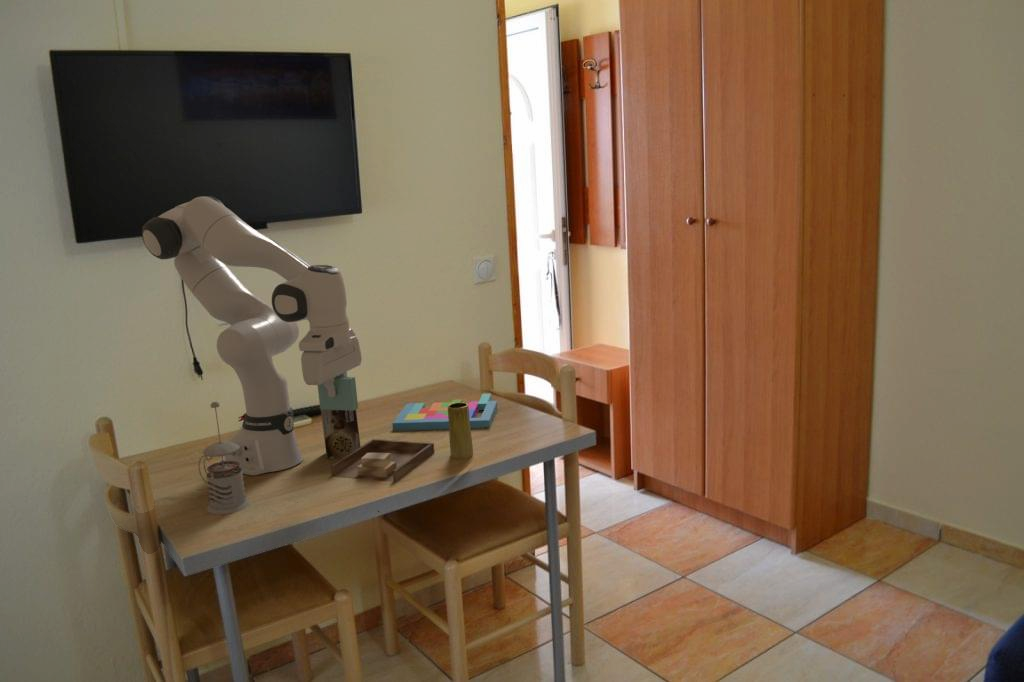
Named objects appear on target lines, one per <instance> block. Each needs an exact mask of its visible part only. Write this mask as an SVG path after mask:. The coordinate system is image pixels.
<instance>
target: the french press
mask: <svg viewBox="0 0 1024 682" xmlns="http://www.w3.org/2000/svg"><path fill="white" fill-rule="evenodd" d="M210 408H212V409H214V411H215V419H216V424H217V425H216V426H217V434H218V441H219V442H214V443H212V444H210V445H208V446H207V447H205V448H204V449H203V450H202V454H203V455H202V456H201V457H200V458H199V460H198V466H197V467H198V471H199V475H200V477H201V479H202V481H203V482H204V483H205V484H207V489H208V495H209V501H210V503H209V505H208V506H207V508H206V511H207V513H209V512H210V513H209V514H212V513H213V514H212V515H227V514H233V513H237V512H239V511H240V512H241V511H242V510H244V509H246V508H248V507H249V506H251V502H252V501H251V500H250V499H249V498H248V497H246V491H245V490H246V488H245V481H244V474H243V473H242V469H241V468H240V467H239V465H240V463H239V462H237V461H225V462H223V457H225V456H226V455H230V454H233V453H235V452H237V451H238V450H239V447H240V446H239V445H237V444H235V443H233V442H227V440H226V441H221V434H220V429H219V428H220V427H219V420H218V413H217V412H218V411H217V408H220V403H219V402H218V401H212V402H211V404H210ZM208 457H210V458H208ZM213 457H214V458H215V457H216V458H218V457H221V459H222V462H218V461H217V462H218V463H217V462H215V463H212V464H210V465H208V467H207V468H206V464H205V462H206V461H210V460H212V459H213ZM202 459H203V470H204V472H205V474H206V480H207V481H206V480H205V479H204V478H203V475H202V473H201V469H200V468H201V467H200V465H201V461H202ZM232 470H233V471H232ZM207 471H208V472H207ZM234 471H237V472H234ZM229 472H232V473H229ZM226 473H228V474H226ZM212 474H213V475H212ZM225 474H226V475H225ZM212 476H213V478H212ZM213 485H214V486H213ZM214 490H215V491H214Z"/></svg>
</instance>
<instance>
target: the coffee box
mask: <svg viewBox="0 0 1024 682" xmlns="http://www.w3.org/2000/svg"><path fill="white" fill-rule="evenodd" d="M320 414H321V422H322V430H323V438H324V445H325V446H324V447H325V456H326V460H333V459H342V458H344V457H345V456H347V455H349V454H350V453H352V452H353V451H355V450H356V449H358V448H360V447H361V446H362V445H361V439H360V438H361V437H360V432H359V431H360V429H359V423H358V414H357V409H356V410H354V411H350V410H326V409H320Z"/></svg>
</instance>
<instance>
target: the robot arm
mask: <svg viewBox="0 0 1024 682" xmlns="http://www.w3.org/2000/svg"><path fill="white" fill-rule="evenodd" d="M141 238H142V240H143V244H144V246H145V248H146V249H147V250H148V252H149V253H150V254H151V255H152V256H154V257H155V258H157V259H160V260H169V259H170V260H171V259H173V258H174V260H173V261H174V262H173V264H174V267H175V270H176V271H177V273H178V275H179V277H180V279H181V280H182V281H183V283H184V284H185V286H186V287H187V288H188V290H189V291H190V292H191V294H192V295H193V296H194V298H196V300H198V302H199V303H200V304H201V306H203V308H204V309H205V310H206V312H207V313H208V314H209V315H210V316H211V317H212V318H214V319H216V320H218V321H221V322H225V323H226V324H228V325H229V326H228V327H227V328H225V329H224V330H223V331H221V332H220V334H219V335H218V336H217V339H216V350H217V353H218V355H219V357H220V359H221V360H222V361H223V362H224V363H225V364H227V365H229V367H231V369H233V370H234V372H235V373H236V375H237V377H238V379H239V383H240V385H241V388H242V392H243V394H242V395H243V399H244V400H243V401H244V405H245V407H244V408H245V411H246V412H245V413H244V414H243V415H240V416H238V418H237V419H239V420H238V422H241V421H242V424H241V425H242V427H241V428H240V429H239V430H237V431H236V432H235V433H234V434H233V435H232V436H231V437H230V438H229V439H228V440H226V442H233V443H235V444H237V445H239V446H240V447H239V450H238V451H237V452H235V453H233V454H230V455H226V456H223V462H225V461H237V462H239V463H240V465H239V467H240V468H241V469H242V473H243V475H249V476H258V475H262V474H265V473H271V472H272V473H273V472H277V471H279V472H280V471H282V470H287V469H289V468H292V467H295V466H297V465H299V464H301V462H302V461H303V459H304V457H303V455H302V453H301V449H300V448H299V444H298V441H297V437H296V433H295V429H294V425H295V424H294V423H295V419H294V413H293V408H292V407H291V401H290V395H289V387H288V381H287V379H286V378H285V376H283V375H282V374H280V373H278V371H277V369H276V367H275V364H274V363H273V357H275V356H276V355H279V354H282V353H284V352H286V351H287V350H288V349H289V348H291V347H292V346H293V345H294V344H295V343H296V342H297V341H298V338H299V333H300V330H299V326H298V322H301V321H304V320H305V321H306V320H307V321H308V323H309V330H308V331H307V333H306V334H305V336H304V337H303V338H302V339H301V340H300V341H299V342H298V348H299V351H300V352H302V354H301V358H300V363H301V373H302V377H303V381H304V382H305V384H306V385H307V386H318V385H320V384H322V383H323V384H324V385H325V387H326V388H327V391H328V396H329V397H334V396H336V395H337V394H338V392H337V391H338V390H337V388H335V386H334V384H333V382H334V378H335V377H348V372H349V371H351V370H352V369H355V368H357V367H359V366H360V365H361V364H362V353H361V347H360V346H361V345H360V342H359V339H358V337H356V333H355V331H354V330H353V329H351V328H350V322H349V317H348V314H347V310H346V309H347V293H346V287H345V281H344V277H343V276H342V273H341V271H340V270H339V269H338V268H337V267H336V266H332V265H328V264H315V265H310V264H309V263H307V262H306V261H305V260H303V259H302V258H301V257H300V256H297V255H296V254H294V253H293V252H292V251H291V250H290V249H288V248H286V247H285V246H284V245H282V244H280V243H279V242H277V241H275V240H273V239H272V238H270V237H268V236H266V235H264V234H263V233H262V232H259V231H257V230H256V229H254V228H253V226H250V225H249V224H248V223H247V222H245V221H244V220H243V219H241V218H240V217H239V216H238V215H237V214H236V213H235V212H233V211H232V210H231V209H230V208H228V207H226V206H225V205H224V203H223V202H222V201H221V200H219V199H218V197H217V198H216V197H215V196H209V195H208V196H207V195H206V196H205V195H204V196H203V195H202V196H197V197H195V198H193V199H191V200H190V201H188V202H184V203H182V204H178V205H176V206H175V207H174V208H171V209H170V210H167V211H165V212H163V213H161V214H160V215H159V216H154V217H152V218H151V219H149V220H148V221H147V222H146V223H144V225H143V226H142V230H141ZM228 266H229V267H237V268H238V267H241V268H242V267H243V268H244V267H245V268H247V267H248V268H258V269H259V268H260V269H265V270H269V271H271V272H274V273H276V274H278V275H279V276H281V277H282V278H283V279H285V280H286V281H284V282H282V283H280V284H278V285H277V286H276V287H275V288H274V290H273V291H272V294H271V305H269V304H268V303H266V302H265V301H263V300H262V299H260V298H259V297H258V296H256V295H255V294H254V293H252V291H249V289H248V288H247V287H246V286H245V285H244V284H243V283H242V282H241V280H239V278H238V277H237V276H236V275H235V274H234V272H233V271H232V270H231V269H230V268H229V267H228ZM218 462H222V458H220V459H219V460H218V461H217V462H216V463H218ZM231 472H233V473H238V472H237V471H233V470H232V471H231Z"/></svg>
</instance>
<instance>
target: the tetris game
mask: <svg viewBox="0 0 1024 682" xmlns="http://www.w3.org/2000/svg"><path fill="white" fill-rule="evenodd" d="M492 399H493V398H492V393H482V394H481V397H480V399H479V400H477V401H475V400H474V401H469V403H467V404H468V407H469V419H470V428H471V429H484V428H483V427H490V428H491V426H492V423H491V422H493V421H492V419H493V420H494V418H493V417H495V416H494V414H495V415H496V413H497V411H496V409H497V410H498V408H497V407H498V400H492ZM491 400H492V401H491ZM457 402H463V399H461V398H460V399H452V401H447V402H444V401H443V402H433V403H432V405H431V406H430V407H426V403H425V402H418V403H417V402H414V403H413V402H410V403H406V404H405V406H404V407H403V408H402V410H400V412H399V413H398V415H397V416H396V417H395V419H394V420H393V421H392V423H391V424H392V425H391V426H392V431H393V432H394V431H395V432H396V431H398V432H399V430H401V431H426V430H428V431H431V430H449V419H448V405H449V404H452V403H457ZM478 410H484V411H482V414H481V416H480V417H477V415H478V413H479V411H478ZM477 412H478V413H477ZM495 412H496V413H495ZM476 414H477V415H476ZM475 416H476V417H475ZM490 425H491V426H490ZM480 427H481V428H480Z"/></svg>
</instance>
